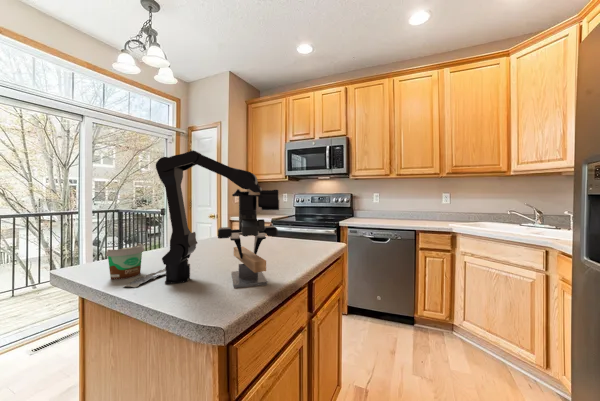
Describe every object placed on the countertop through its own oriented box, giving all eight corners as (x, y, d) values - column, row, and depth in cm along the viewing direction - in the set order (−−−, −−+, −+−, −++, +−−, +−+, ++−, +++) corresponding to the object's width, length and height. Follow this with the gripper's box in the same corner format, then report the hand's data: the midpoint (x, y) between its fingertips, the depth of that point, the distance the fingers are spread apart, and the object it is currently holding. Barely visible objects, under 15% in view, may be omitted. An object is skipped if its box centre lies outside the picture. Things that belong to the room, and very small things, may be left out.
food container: (120, 282, 82) (120, 251, 82) (106, 280, 84) (105, 249, 84) (152, 271, 94) (152, 244, 94) (139, 270, 96) (139, 243, 96)
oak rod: (254, 272, 74) (254, 262, 74) (233, 255, 95) (233, 247, 95) (266, 271, 75) (266, 260, 75) (243, 254, 96) (243, 246, 96)
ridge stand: (233, 288, 77) (233, 271, 77) (231, 274, 90) (231, 260, 90) (267, 284, 80) (267, 268, 80) (260, 272, 93) (260, 258, 93)
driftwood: (133, 291, 76) (133, 283, 76) (115, 289, 78) (115, 282, 78) (181, 271, 96) (181, 266, 96) (166, 270, 98) (166, 265, 98)
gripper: (217, 212, 74) (218, 266, 74) (281, 211, 80) (281, 262, 80) (217, 210, 85) (218, 258, 85) (274, 209, 90) (274, 254, 91)
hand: (248, 258), depth 85 cm, fingers closed on oak rod, 4 cm apart
